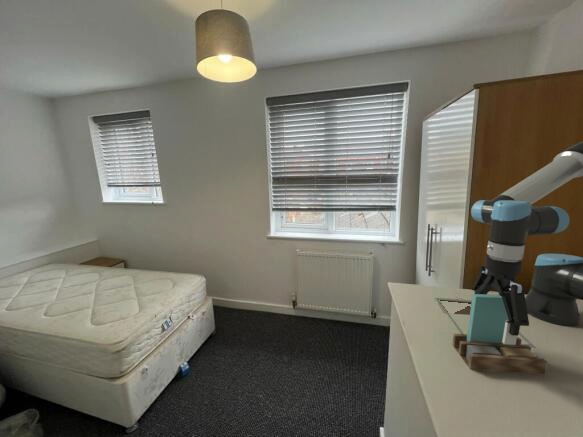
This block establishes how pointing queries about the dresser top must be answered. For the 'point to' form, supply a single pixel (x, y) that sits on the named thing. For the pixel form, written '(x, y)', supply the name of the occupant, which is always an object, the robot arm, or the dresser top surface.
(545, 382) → the dresser top surface
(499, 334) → the teal rectangular slab
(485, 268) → the robot arm
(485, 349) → the offcut charcoal
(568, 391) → the dresser top surface
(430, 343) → the dresser top surface
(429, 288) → the dresser top surface
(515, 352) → the offcut oak
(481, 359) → the rack
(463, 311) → the framed cork board
